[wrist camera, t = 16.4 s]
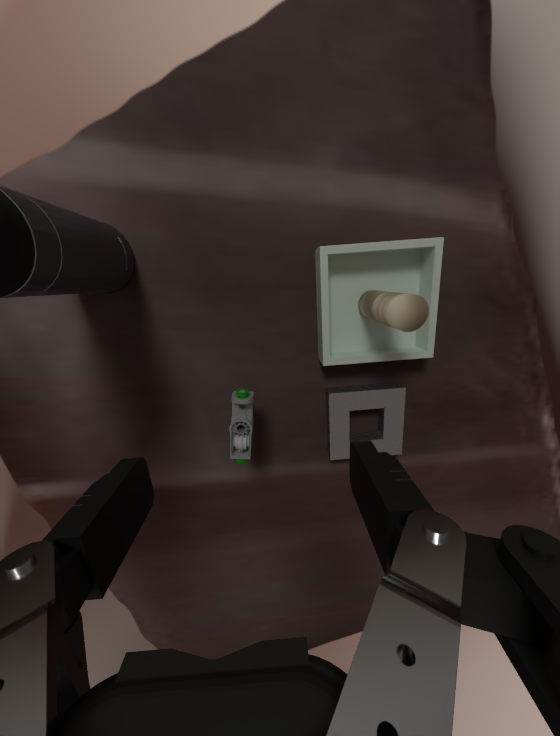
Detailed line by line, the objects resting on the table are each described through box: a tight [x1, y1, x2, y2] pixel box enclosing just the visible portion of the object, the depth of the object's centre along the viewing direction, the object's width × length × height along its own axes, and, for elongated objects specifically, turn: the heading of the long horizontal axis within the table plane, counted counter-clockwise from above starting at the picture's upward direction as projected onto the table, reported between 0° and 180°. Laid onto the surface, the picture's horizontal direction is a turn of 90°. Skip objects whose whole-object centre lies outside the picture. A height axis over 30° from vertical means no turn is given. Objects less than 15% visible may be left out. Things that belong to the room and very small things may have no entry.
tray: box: [315, 237, 444, 366], centre depth 40 cm, size 16×16×4 cm
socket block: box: [326, 382, 406, 460], centre depth 46 cm, size 12×12×2 cm
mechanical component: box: [229, 389, 254, 463], centre depth 41 cm, size 3×10×10 cm, turn 177°
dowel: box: [358, 290, 429, 332], centre depth 36 cm, size 4×4×12 cm
